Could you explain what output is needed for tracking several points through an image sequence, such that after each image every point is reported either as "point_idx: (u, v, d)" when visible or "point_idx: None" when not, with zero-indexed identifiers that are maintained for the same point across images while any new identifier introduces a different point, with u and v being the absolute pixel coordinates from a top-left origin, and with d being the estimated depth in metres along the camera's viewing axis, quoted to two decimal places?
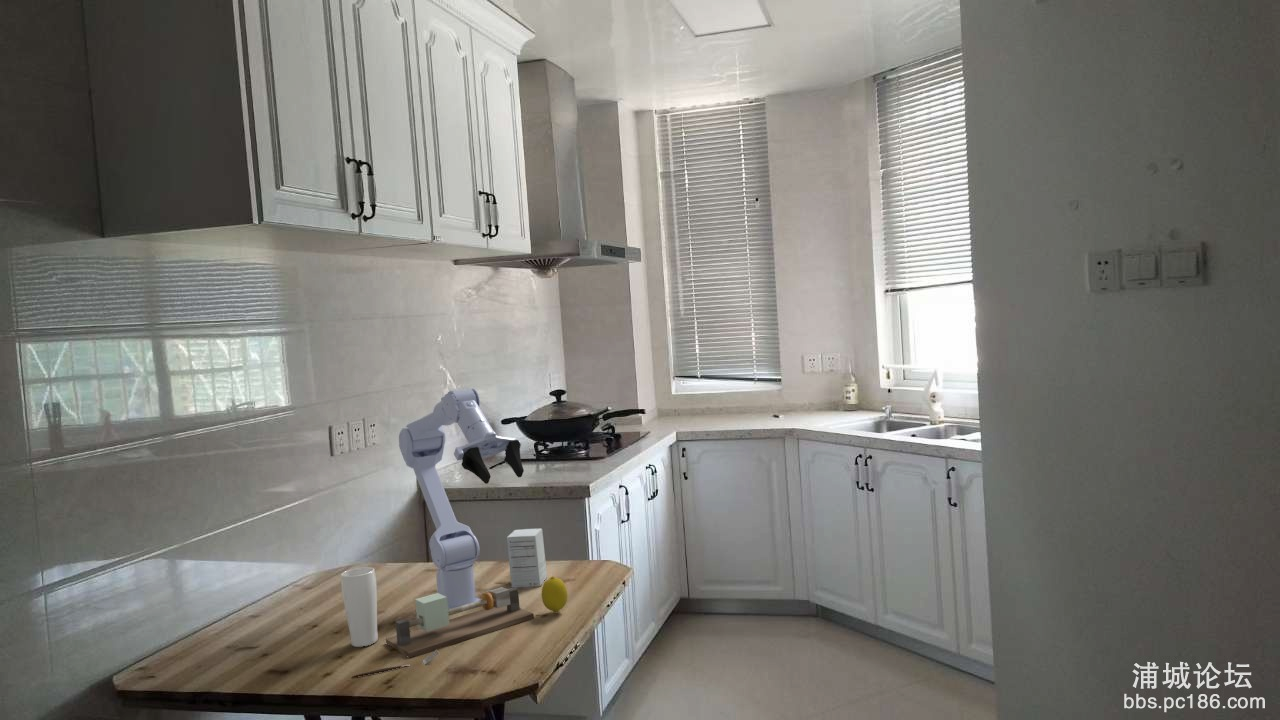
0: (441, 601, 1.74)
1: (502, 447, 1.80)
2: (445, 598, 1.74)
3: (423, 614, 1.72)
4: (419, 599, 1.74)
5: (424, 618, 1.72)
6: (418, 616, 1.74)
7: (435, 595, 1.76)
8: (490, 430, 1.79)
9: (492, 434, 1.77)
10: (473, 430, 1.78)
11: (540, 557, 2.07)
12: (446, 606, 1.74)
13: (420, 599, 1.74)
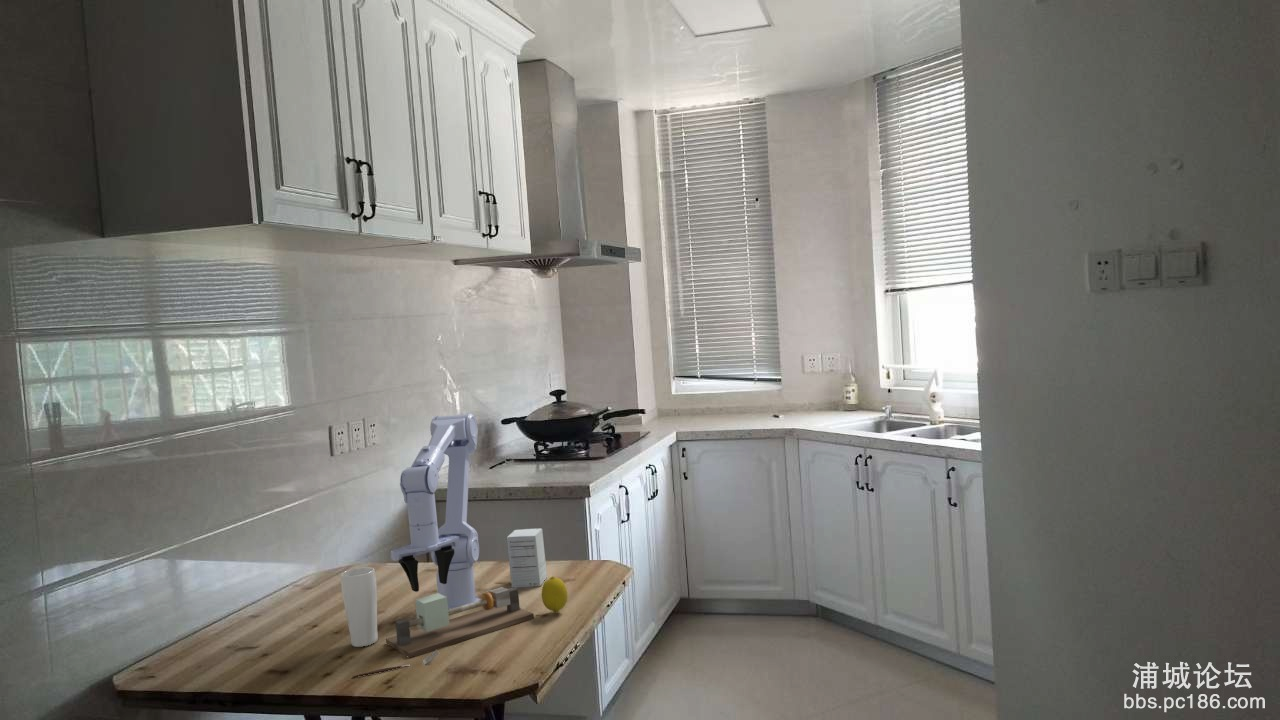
0: (441, 601, 1.74)
1: (439, 547, 1.81)
2: (445, 598, 1.74)
3: (423, 614, 1.72)
4: (419, 599, 1.74)
5: (424, 618, 1.72)
6: (418, 616, 1.74)
7: (435, 595, 1.76)
8: (434, 536, 1.78)
9: (433, 549, 1.76)
10: (418, 532, 1.77)
11: (540, 557, 2.07)
12: (446, 606, 1.74)
13: (420, 599, 1.74)
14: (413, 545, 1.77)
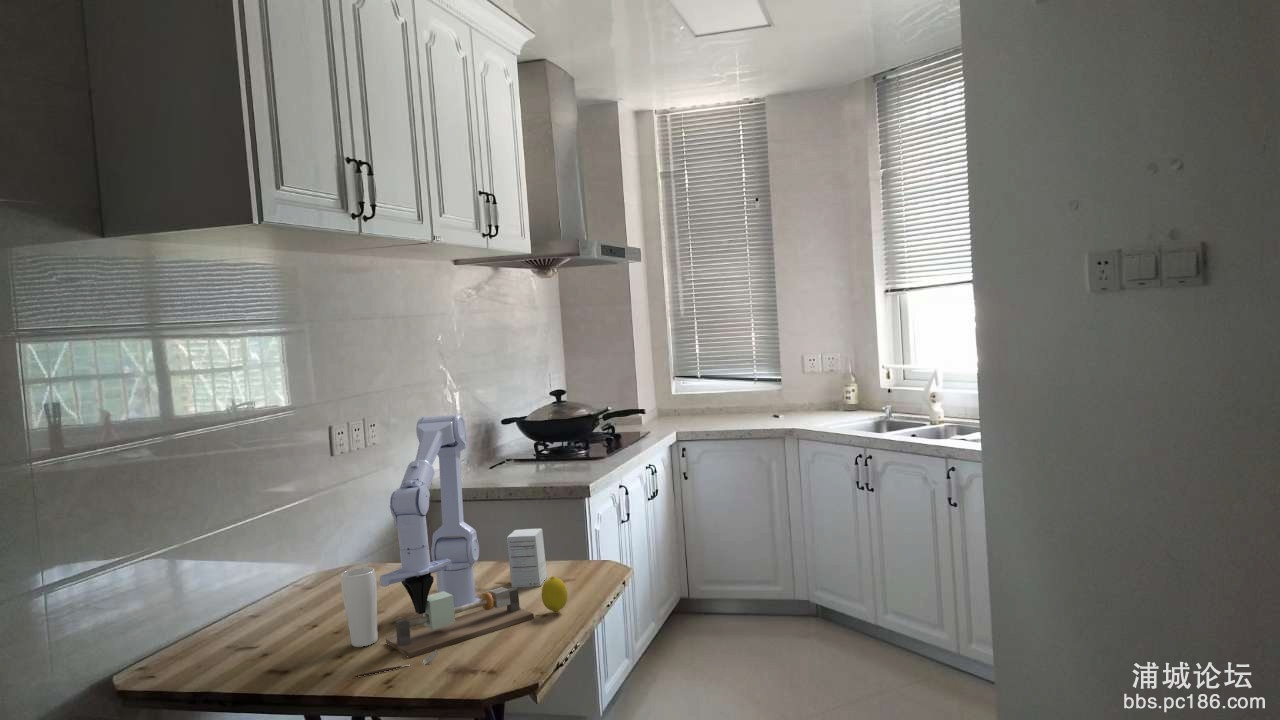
0: (447, 599, 1.74)
1: (431, 571, 1.74)
2: (451, 596, 1.75)
3: (429, 612, 1.73)
4: None
5: (430, 616, 1.73)
6: (424, 614, 1.75)
7: (441, 593, 1.77)
8: (425, 560, 1.71)
9: (424, 573, 1.70)
10: (408, 556, 1.70)
11: (540, 557, 2.07)
12: (452, 604, 1.75)
13: None
14: (403, 570, 1.71)
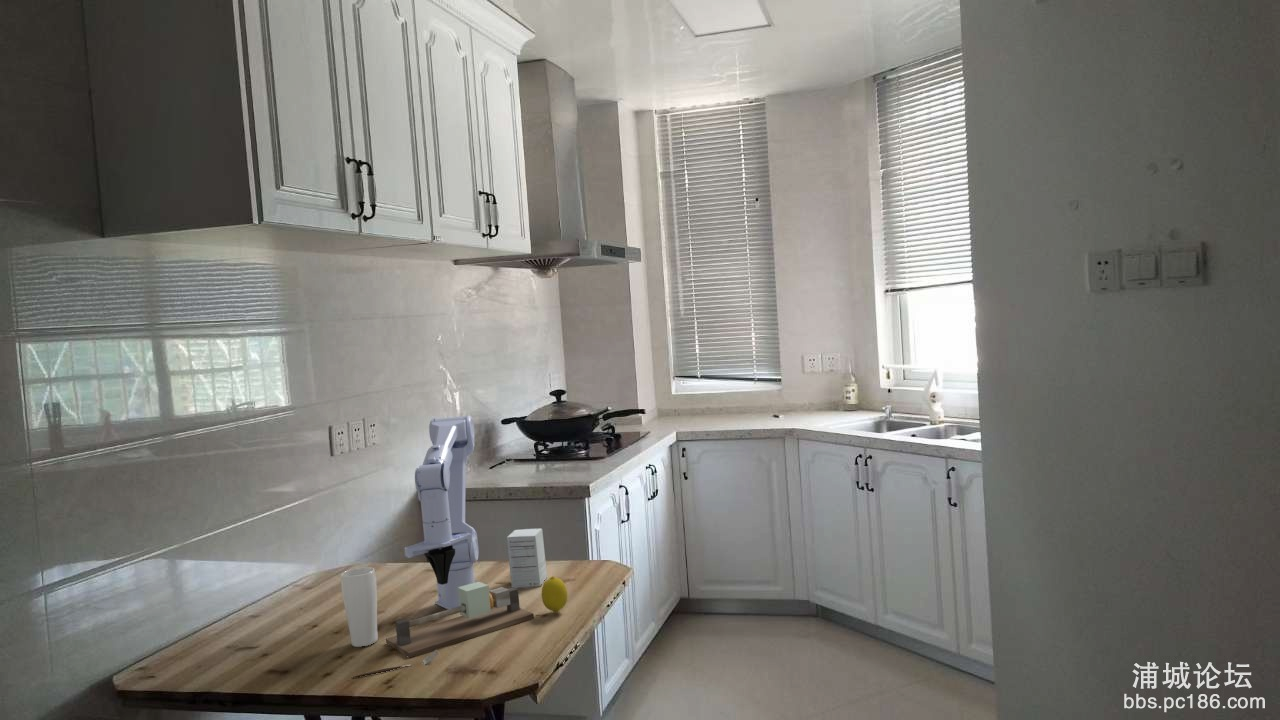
0: (483, 589, 1.79)
1: (452, 544, 1.83)
2: (487, 586, 1.80)
3: (466, 602, 1.78)
4: (461, 587, 1.80)
5: (467, 605, 1.78)
6: (460, 604, 1.80)
7: (477, 583, 1.82)
8: (447, 533, 1.80)
9: (447, 545, 1.78)
10: (431, 529, 1.78)
11: (540, 557, 2.07)
12: (488, 594, 1.80)
13: (462, 587, 1.80)
14: (427, 542, 1.79)
